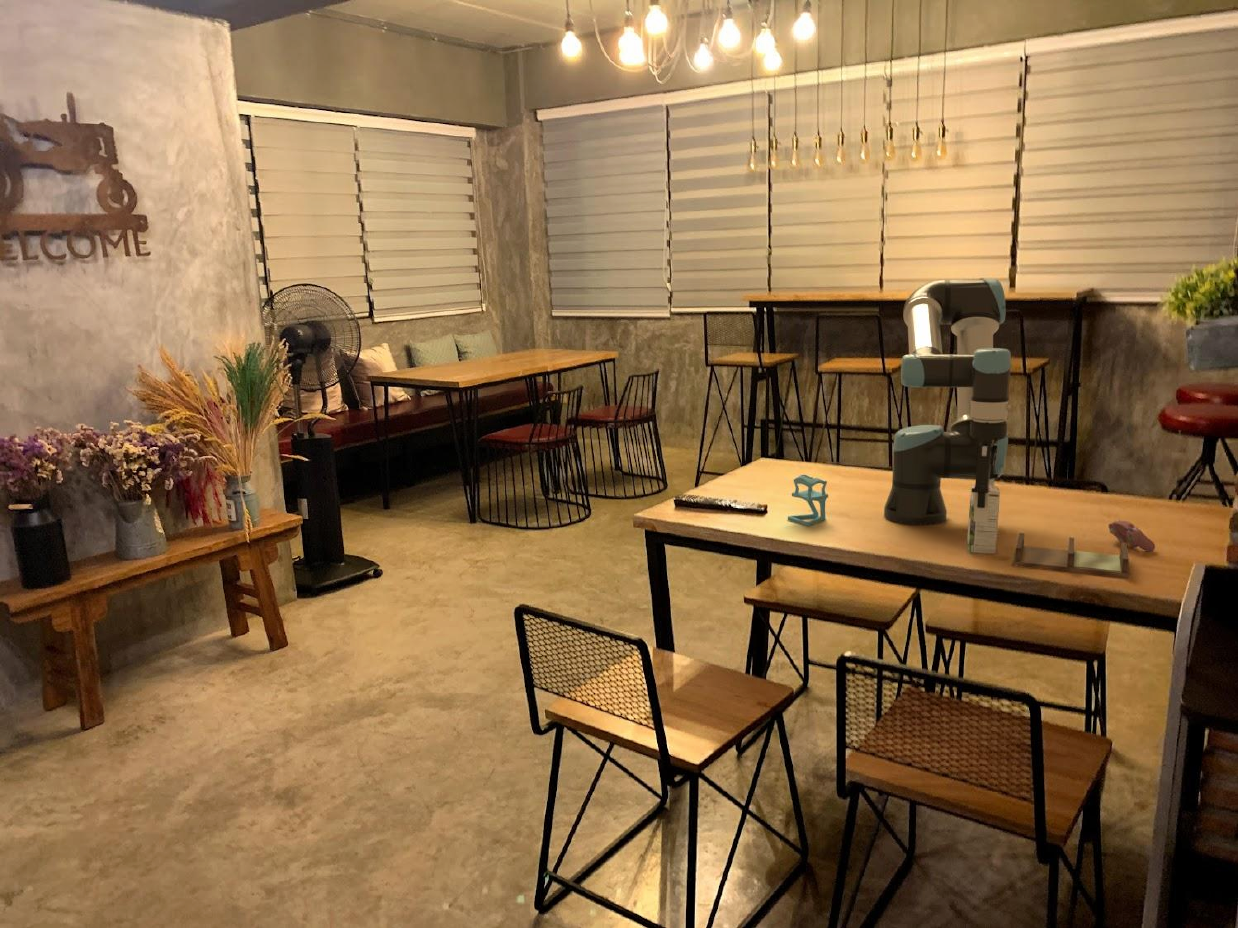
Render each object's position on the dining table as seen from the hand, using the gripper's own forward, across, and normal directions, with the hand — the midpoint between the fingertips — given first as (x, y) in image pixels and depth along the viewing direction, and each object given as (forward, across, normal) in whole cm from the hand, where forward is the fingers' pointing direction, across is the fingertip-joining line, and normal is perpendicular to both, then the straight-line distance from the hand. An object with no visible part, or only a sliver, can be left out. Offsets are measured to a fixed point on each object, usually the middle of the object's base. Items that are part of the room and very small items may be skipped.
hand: (983, 514), depth 204 cm
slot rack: (+8, -2, -18) cm, 20 cm away
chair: (+8, +10, +42) cm, 44 cm away
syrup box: (+9, 0, 0) cm, 9 cm away
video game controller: (+9, +15, -30) cm, 34 cm away
